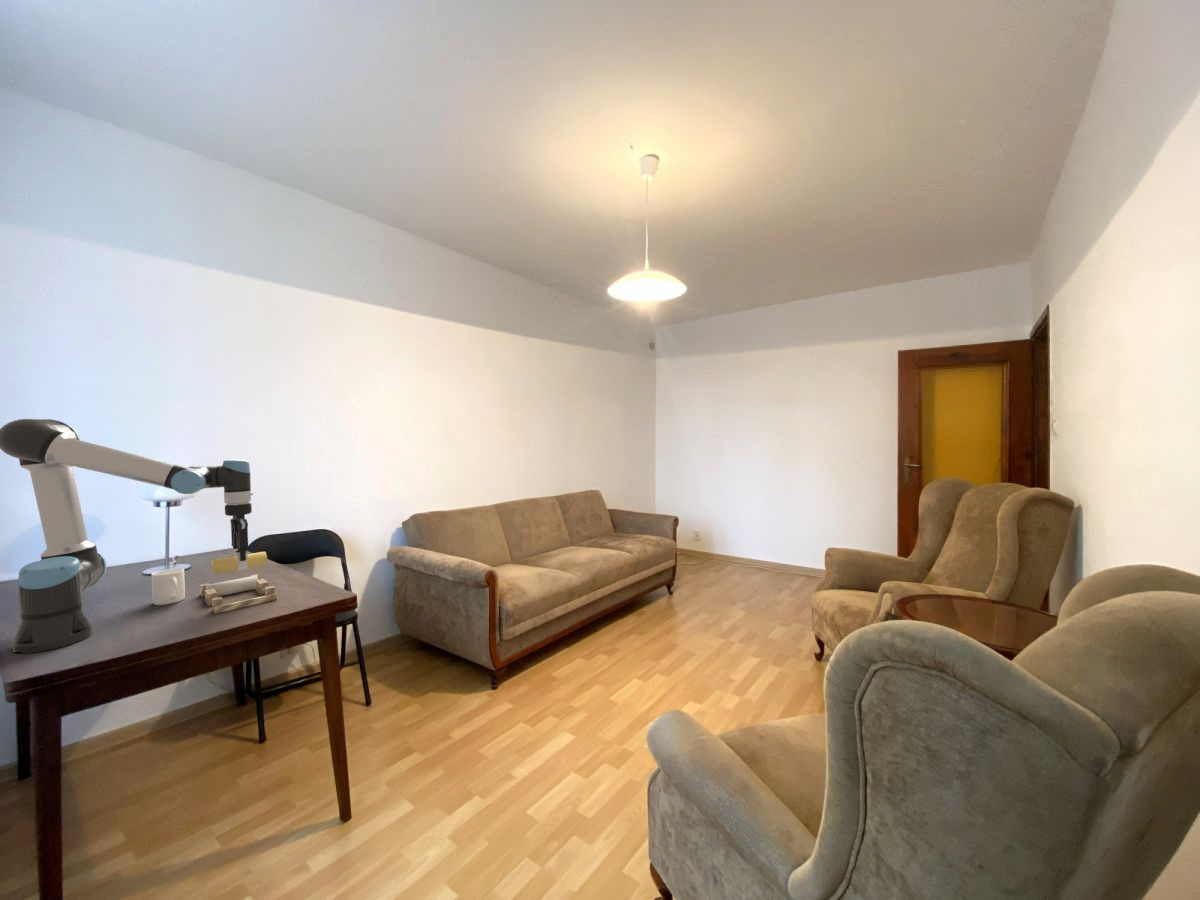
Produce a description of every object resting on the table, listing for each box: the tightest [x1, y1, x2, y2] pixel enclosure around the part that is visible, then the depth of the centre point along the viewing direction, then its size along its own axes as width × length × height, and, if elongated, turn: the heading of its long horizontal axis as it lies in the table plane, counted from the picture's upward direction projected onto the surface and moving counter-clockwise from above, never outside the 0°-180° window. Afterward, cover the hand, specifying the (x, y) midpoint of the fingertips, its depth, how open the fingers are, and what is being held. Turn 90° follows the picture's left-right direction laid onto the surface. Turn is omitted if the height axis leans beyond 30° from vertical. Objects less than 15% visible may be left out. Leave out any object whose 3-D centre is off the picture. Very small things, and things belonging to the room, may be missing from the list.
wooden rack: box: [199, 573, 278, 615], centre depth 173 cm, size 18×27×4 cm, turn 48°
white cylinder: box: [206, 575, 258, 598], centre depth 178 cm, size 15×5×5 cm, turn 138°
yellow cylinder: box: [211, 551, 268, 575], centre depth 168 cm, size 15×5×5 cm, turn 138°
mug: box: [150, 567, 186, 606], centre depth 168 cm, size 9×12×11 cm
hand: (240, 567), depth 169 cm, fingers closed on yellow cylinder, 5 cm apart
